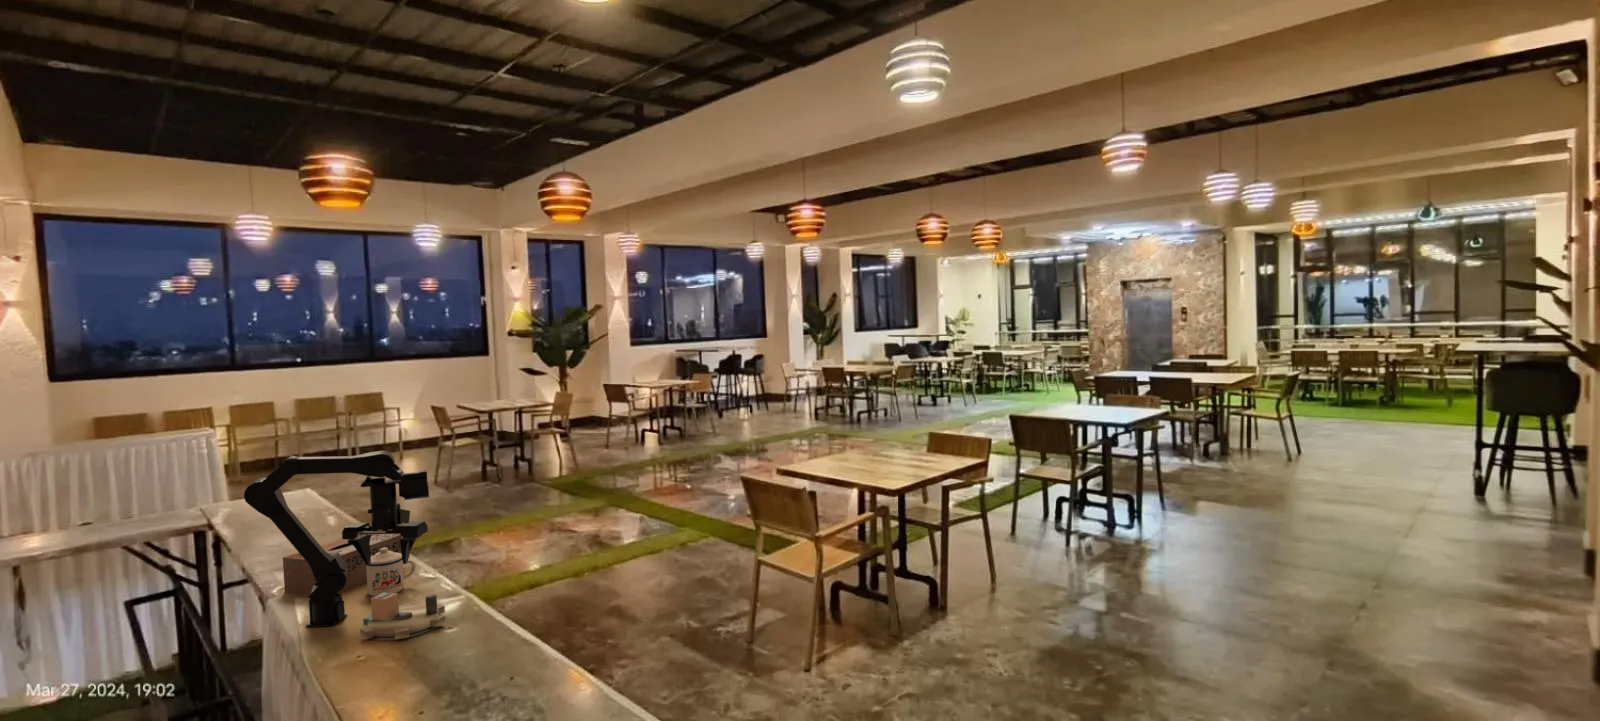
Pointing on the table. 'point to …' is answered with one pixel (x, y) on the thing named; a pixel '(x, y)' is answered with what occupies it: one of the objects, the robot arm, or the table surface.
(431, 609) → the sprocket disc
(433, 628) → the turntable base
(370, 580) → the teacup with lid
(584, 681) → the table surface
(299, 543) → the robot arm
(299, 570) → the tissue box cover
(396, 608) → the link block
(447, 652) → the table surface
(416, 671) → the table surface
